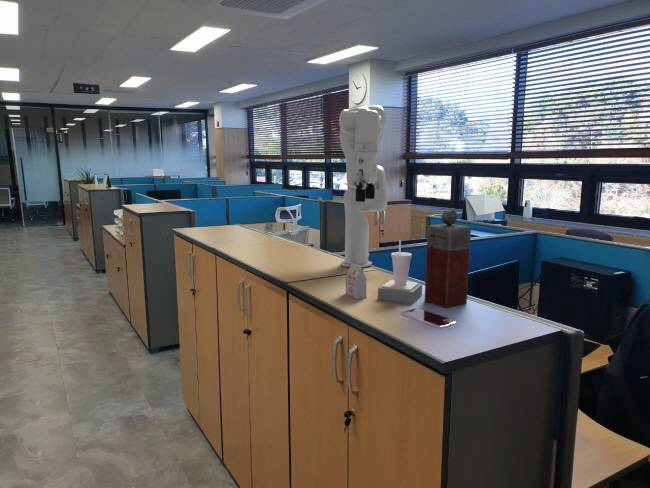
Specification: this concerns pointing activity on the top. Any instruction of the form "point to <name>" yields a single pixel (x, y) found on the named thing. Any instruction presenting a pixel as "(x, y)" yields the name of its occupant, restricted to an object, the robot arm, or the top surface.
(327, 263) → the top surface
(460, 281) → the red square canister
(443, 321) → the mobile phone
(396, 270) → the smoothie
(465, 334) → the top surface
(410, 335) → the top surface
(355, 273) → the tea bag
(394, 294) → the plinth
